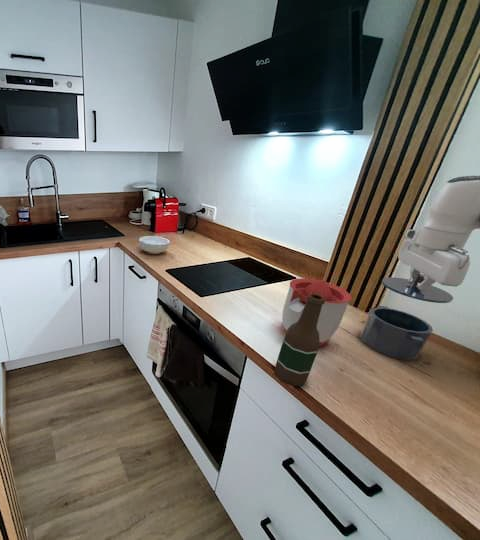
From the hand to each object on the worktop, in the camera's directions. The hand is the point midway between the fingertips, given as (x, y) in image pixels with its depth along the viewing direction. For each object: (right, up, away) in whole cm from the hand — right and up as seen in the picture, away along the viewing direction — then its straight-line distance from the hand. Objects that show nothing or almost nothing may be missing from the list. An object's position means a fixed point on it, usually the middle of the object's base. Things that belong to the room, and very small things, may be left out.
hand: (416, 286), depth 80 cm
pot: (-1, -19, +8) cm, 20 cm away
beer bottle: (-39, -24, -5) cm, 46 cm away
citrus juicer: (-26, -17, +11) cm, 33 cm away
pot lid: (0, -1, 0) cm, 1 cm away
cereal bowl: (-65, +15, +81) cm, 105 cm away
